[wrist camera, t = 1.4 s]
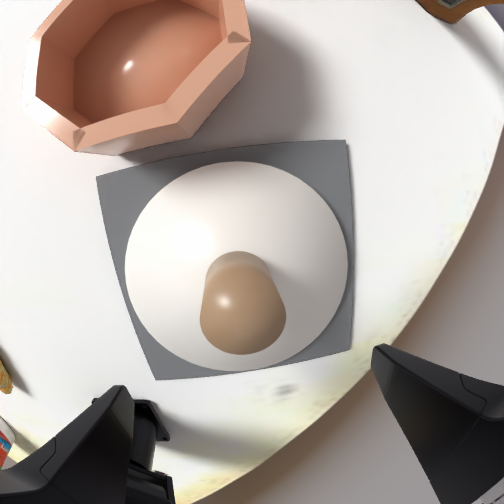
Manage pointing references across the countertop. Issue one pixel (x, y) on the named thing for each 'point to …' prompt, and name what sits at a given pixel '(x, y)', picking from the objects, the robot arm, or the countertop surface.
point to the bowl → (133, 70)
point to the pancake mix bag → (454, 8)
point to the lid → (236, 266)
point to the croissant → (5, 380)
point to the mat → (165, 171)
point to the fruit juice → (5, 441)
